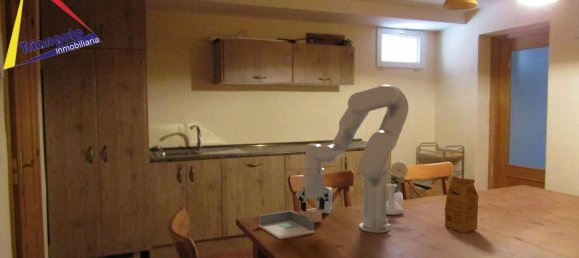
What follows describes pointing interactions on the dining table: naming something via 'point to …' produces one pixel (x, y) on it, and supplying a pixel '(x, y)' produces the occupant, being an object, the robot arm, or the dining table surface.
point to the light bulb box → (326, 202)
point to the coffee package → (461, 205)
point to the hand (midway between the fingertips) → (312, 209)
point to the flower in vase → (399, 172)
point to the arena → (286, 224)
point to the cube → (314, 214)
